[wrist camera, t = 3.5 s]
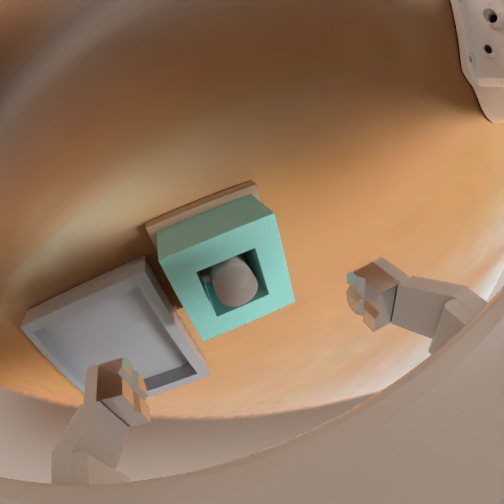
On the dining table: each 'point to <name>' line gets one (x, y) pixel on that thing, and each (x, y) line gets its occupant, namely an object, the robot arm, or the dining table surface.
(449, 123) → the dining table surface
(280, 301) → the ring
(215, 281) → the stake
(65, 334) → the tray
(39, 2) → the dining table surface
